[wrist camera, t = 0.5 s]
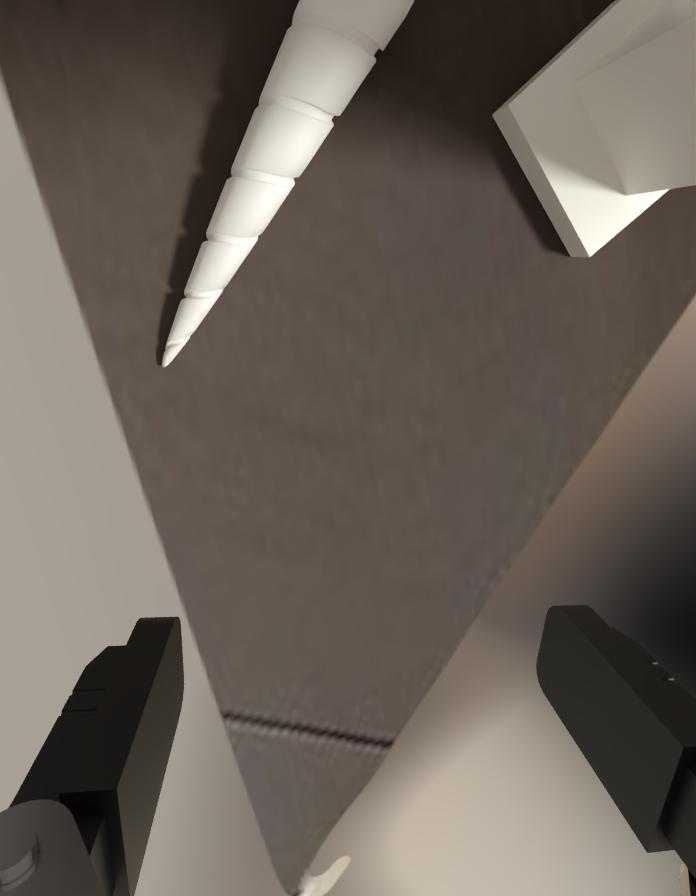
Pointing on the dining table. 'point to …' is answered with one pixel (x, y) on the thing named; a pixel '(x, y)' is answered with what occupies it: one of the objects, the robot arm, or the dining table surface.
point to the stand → (609, 120)
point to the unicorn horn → (285, 136)
